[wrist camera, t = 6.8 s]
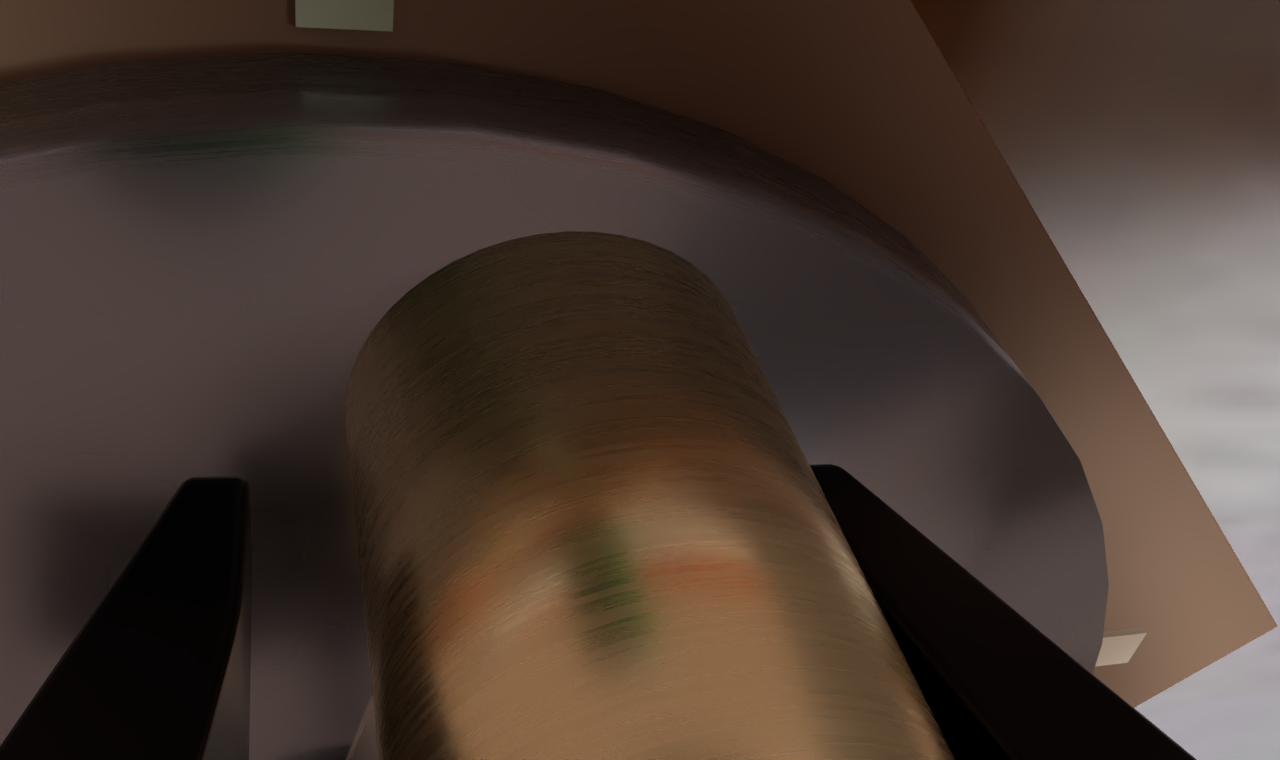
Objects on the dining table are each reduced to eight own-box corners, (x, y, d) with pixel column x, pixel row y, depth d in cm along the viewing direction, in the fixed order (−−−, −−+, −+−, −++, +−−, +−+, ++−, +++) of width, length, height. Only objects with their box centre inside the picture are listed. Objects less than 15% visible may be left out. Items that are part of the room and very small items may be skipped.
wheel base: (324, 1003, 26) (333, 1166, 24) (-1055, 648, 13) (-1327, 932, 11) (1170, 488, 21) (1281, 631, 19) (321, -884, 8) (355, -952, 6)
